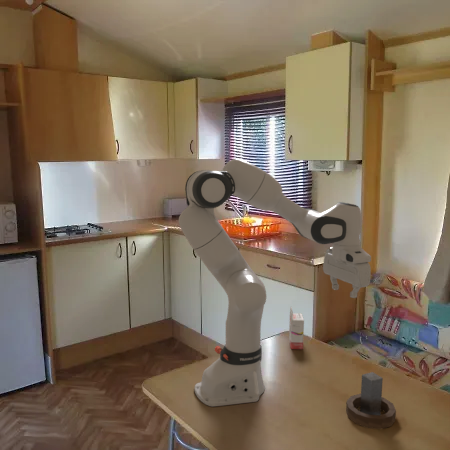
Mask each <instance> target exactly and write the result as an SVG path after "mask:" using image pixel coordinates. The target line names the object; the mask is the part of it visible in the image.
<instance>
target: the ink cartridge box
mask: <svg viewBox="0 0 450 450" xmlns="http://www.w3.org/2000/svg"><path fill="white" fill-rule="evenodd" d="M303 316H304V315H303V313H301V312H299V313H298V312H297V313H295V312H293V307H292V306H290V310H289V328H288V333H289V334H288V342H289V345H290V349H291V350H303V349H304V334H305V333H304V329H305V319H304V317H303Z"/></svg>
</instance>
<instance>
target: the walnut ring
mask: <svg viewBox="0 0 450 450" xmlns="http://www.w3.org/2000/svg"><path fill="white" fill-rule="evenodd" d="M360 403H361V393H358V394H355V395H354V394H353V395H351V396H350V397H348V399H347V400H346V406H345V407H346V408H345V410H346V411H345V412H346V416H347V418H348V419H349V420H351V421H352V422H353V423H355V425H359V426H362V427H364V428H367V429H379V430H382V429H386V428H389V427H392V426H393V424H394V423H395V422H396V416H397V415H396V413H397V409H396V408H395V405H394V403H392V402H391V401H389V400H388V399H386V398H385V397H382V398H381V412H382V411H383V412H384V413H383V414H381V415H368V414H365V413H362V412H360V410H358V409H357V408H360Z"/></svg>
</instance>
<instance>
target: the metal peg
mask: <svg viewBox="0 0 450 450" xmlns="http://www.w3.org/2000/svg"><path fill="white" fill-rule="evenodd" d="M360 386H361V387H360V394H361V403H360V407H359V411H360V412H362V413H365V414H368V415H382V414H381V412H382V410H381V398H382V394H383V377H382V376H380V375H379V374H377V373H375V372H373V371H371V372H368V373H364V374H363V373H362V375H361V385H360Z"/></svg>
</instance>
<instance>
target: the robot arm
mask: <svg viewBox="0 0 450 450" xmlns="http://www.w3.org/2000/svg"><path fill="white" fill-rule="evenodd" d="M184 190H185V198H186V199H185V200H186V204H187V207H186V208H185V209H183V210H182V211H181V213H180V215H179V217H178V225H179V227H180V229H181V231H182V233H183V235H184V237H185V239H186V240H187V242H188V243H189V245H190V246H191V248H192V250H193V251H194V253H195V254H196V255H197V256H198V258H199V259H200V260H201V262H202V263H203V265H205V266H206V269H207V270H208V271H209V272H210V273H211V275H212V276H213V277H214V279H215V280H217V282H218V283H219V285H220V286H221V287H222V289H223V290H224V292H225V293H226V295H227V298H228V308H227V316H226V320H225V344H224V346H223V347H222V348H221V346H220V345H217V346H215V348H214V351H215V352H216V354H218V355H219V357H218V359H216V360H215V361H214V362H212V363H211V364H210V365H209V366H207V368H205V369H204V371H203V372H202V376H201V381H200V382H197V383H195V385H194V393H195V396H196V397H197V398H198V400H199V401H200V402H201V403H203V404H204V405H206V406H209V407H221V406H229V405H238V404H247V403H255V402H258V401H259V400H260V397H261V395H262V394H264V392H265V391H266V390H265V389H266V388H265V383H264V380H263V373H262V364H261V362H262V359H263V357H262V354H263V353H262V345H261V332H262V331H261V328H262V319H263V318H262V317H263V312H264V307H265V305H266V302H267V291H266V286H265V284H264V283H263V281H262V280H261V279H260V277H259V276H258V275H257V274H256V273H255V271H254V270H253V269H252V267H251V266H250V265H249V263H248V262H247V260H246V259H245V257H244V256H243V254H242V253H241V251H240V250H239V248H238V247H237V246H236V244H235V243H234V241H233V240H232V238H231V237H230V236H229V234H228V233H227V231H226V230H225V229H224V227H223V226H222V224H221V223H220V222H219V219H217V216H216V214H215V209H216V208H218V207H220V206H222V205H223V204H225V203H226V202H227V201H228V200H229V198H230V199H231V197H233V196H234V197H236V198H239V200H241V201H243V202H245V203H246V204H248V205H249V206H252V207H254V208H256V209H258V210H261V211H264V212H272V213H275V214H276V215H278V216H279V217H282V219H285V220H286V221H287V222H289V223H291V224H292V226H293V227H294V229H295V230H296V231H297V233H298V234H299V235H300V236H301V237H303V238H305V239H308V240H309V241H312V242H314V243H316V244H319V245H328V244H332V245H331V247H328V248H327V249H326V251H325V255H324V257H323V264H322V271H323V273H324V274H325V275H328V276H329V279H330V282H331V289H332V290H334V291H338V290H339V289H340V284H338V280H340V281H343V282H344V283H346V284H347V283H348V284H351V285H352V286H351V288H353V289H352V290H351V291H350V292H349V297H350V298H353V299H357V298H358V293H359V291H360V289H361V288H367V287H368V286H369V285H370V283H371V276H372V275H371V271H372V270H371V265H370V263H371V262H372V256H371V255H370V254H369V253H368V252H367V251H365V249H364V248H362V247H361V244H362V243H361V238H360V237H361V233H362V212H361V211H362V210H361V208H360V207H359V206H358V205H357V204H353V203H349V202H343V201H338V202H337V203H336V204H335V205H333V206H332V207H330V208H328V209H327V210H323V211H319V210H316V209H313V208H305V207H303V206H301V205H299V204H297V203H296V202H294V201H293V200H292V199H290V198H288V197H287V196H286V195H285V194H284V193H283V187H282V184H281V183H280V182H279V181H278V180H277V179H276V178H275V177H273V176H272V175H271V174H269V173H267V172H266V171H265V170H263V169H261V168H260V167H258V166H257V165H254V164H252V163H251V162H248V161H246V160H244V159H240V158H233V159H231V160H229V161H228V162H227V163H225V165H224V166H223V168H222V169H221V170H211V169H202V170H198V171H195V172H193V173H192V174H190V176H189V177H188V178H187V180H186V182H185V189H184ZM337 279H338V280H337Z"/></svg>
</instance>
